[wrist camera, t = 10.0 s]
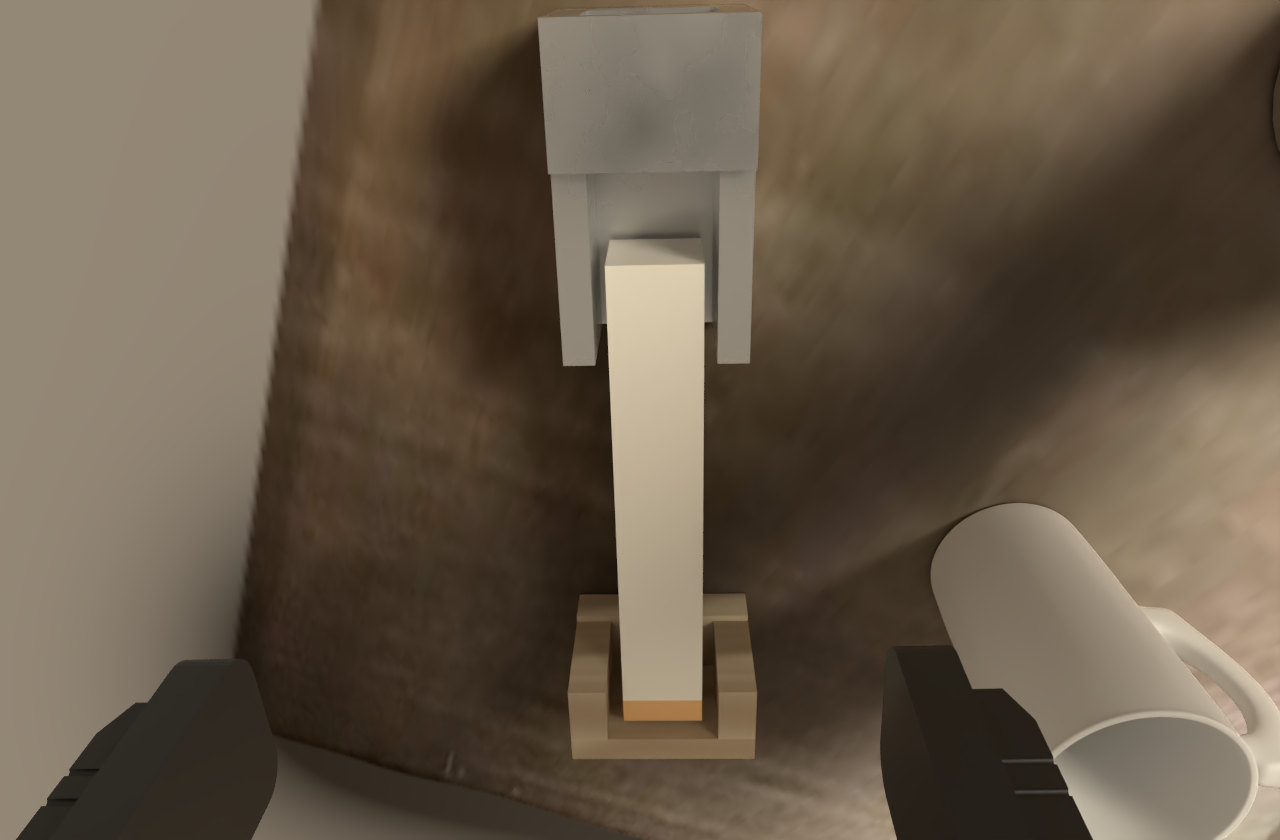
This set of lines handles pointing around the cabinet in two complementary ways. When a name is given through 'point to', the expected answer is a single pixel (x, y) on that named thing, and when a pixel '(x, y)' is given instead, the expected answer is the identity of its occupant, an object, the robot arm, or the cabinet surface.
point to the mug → (1104, 679)
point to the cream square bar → (658, 470)
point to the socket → (712, 738)
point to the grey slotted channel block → (652, 153)
